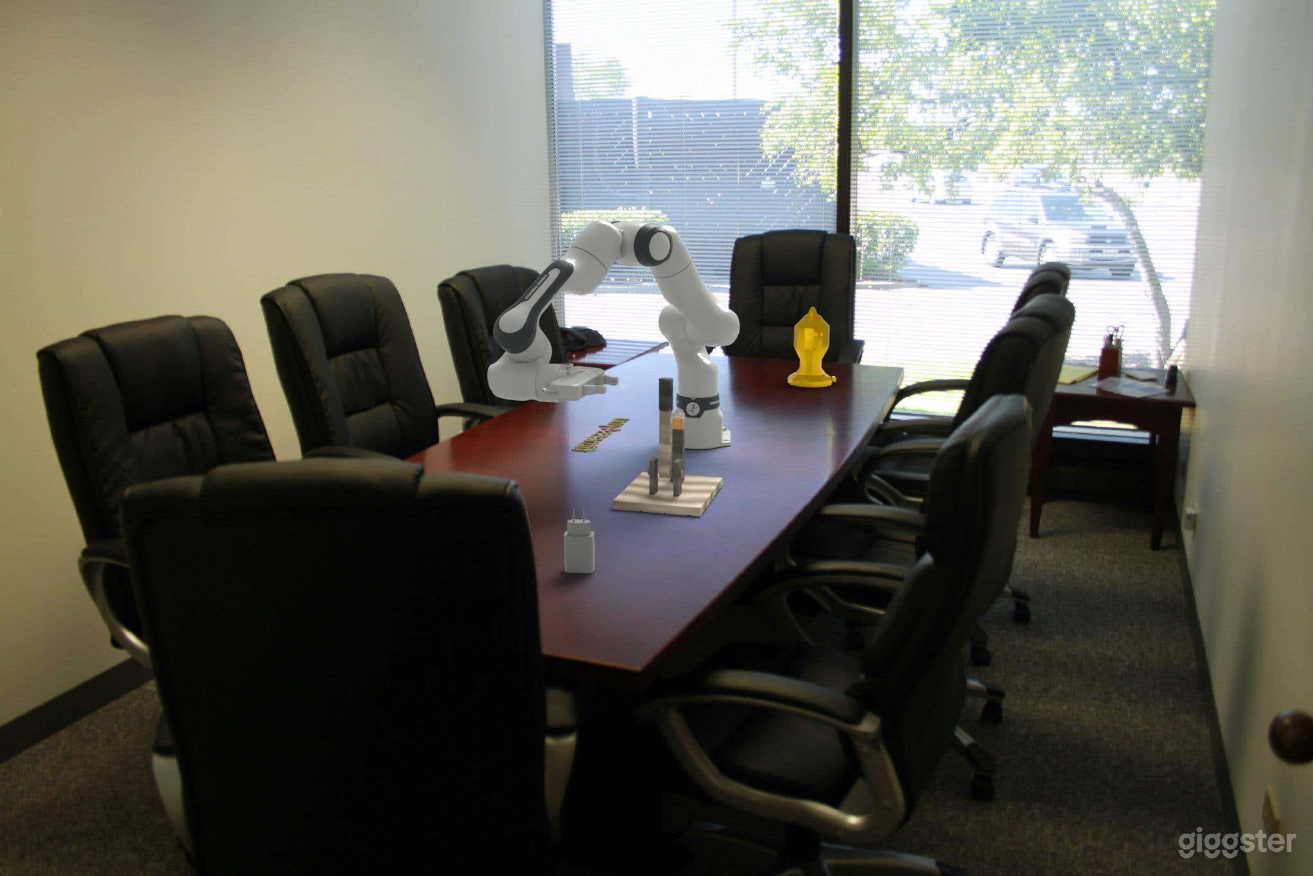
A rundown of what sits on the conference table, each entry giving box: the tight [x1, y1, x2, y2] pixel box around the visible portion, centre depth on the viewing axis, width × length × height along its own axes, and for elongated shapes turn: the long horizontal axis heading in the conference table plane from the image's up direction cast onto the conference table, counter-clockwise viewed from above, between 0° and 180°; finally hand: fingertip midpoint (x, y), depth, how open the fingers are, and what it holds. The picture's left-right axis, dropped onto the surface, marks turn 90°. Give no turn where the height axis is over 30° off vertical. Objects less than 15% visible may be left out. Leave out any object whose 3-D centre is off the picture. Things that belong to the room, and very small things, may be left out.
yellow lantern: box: [787, 306, 837, 388], centre depth 359 cm, size 18×24×28 cm
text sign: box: [570, 417, 630, 453], centre depth 285 cm, size 40×1×8 cm
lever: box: [658, 377, 674, 479], centre depth 219 cm, size 3×3×22 cm
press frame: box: [612, 422, 724, 518], centre depth 225 cm, size 24×20×16 cm
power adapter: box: [563, 508, 596, 574], centre depth 182 cm, size 3×5×12 cm, turn 84°
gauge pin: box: [672, 413, 685, 430], centre depth 229 cm, size 10×5×2 cm, turn 165°
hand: (611, 385), depth 223 cm, fingers open, 8 cm apart
